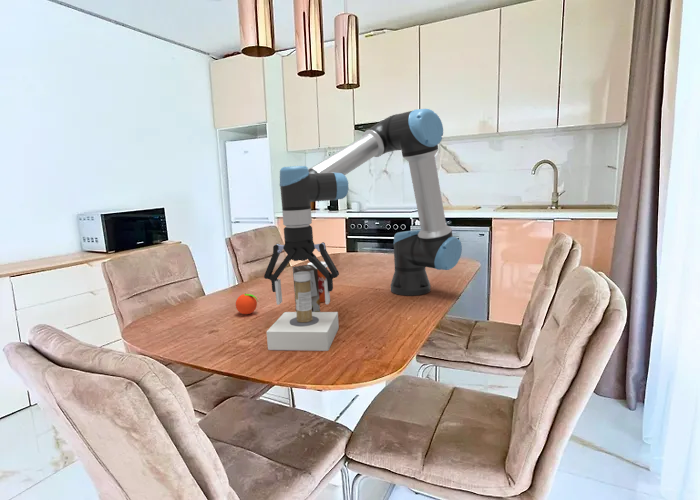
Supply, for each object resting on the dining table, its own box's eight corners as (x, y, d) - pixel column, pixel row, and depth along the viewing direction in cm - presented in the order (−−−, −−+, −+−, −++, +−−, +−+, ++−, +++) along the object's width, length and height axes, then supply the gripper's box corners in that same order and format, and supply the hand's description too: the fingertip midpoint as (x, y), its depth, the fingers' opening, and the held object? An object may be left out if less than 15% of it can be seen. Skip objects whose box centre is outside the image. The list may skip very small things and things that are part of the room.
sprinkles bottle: (297, 317, 114) (294, 271, 112) (313, 317, 114) (311, 270, 112) (295, 323, 110) (292, 275, 108) (312, 323, 110) (309, 274, 108)
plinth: (338, 328, 120) (337, 311, 119) (328, 350, 104) (327, 331, 103) (286, 328, 122) (284, 311, 121) (268, 349, 106) (266, 330, 106)
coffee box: (321, 318, 129) (318, 269, 126) (301, 321, 127) (298, 271, 124) (313, 310, 137) (310, 264, 135) (295, 313, 135) (291, 266, 133)
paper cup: (324, 304, 144) (322, 265, 141) (305, 303, 146) (302, 265, 144) (332, 298, 151) (330, 261, 149) (313, 297, 154) (311, 260, 151)
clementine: (264, 311, 139) (262, 291, 138) (254, 317, 133) (252, 296, 132) (243, 310, 142) (241, 290, 140) (232, 316, 135) (230, 296, 134)
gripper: (346, 222, 110) (350, 298, 113) (257, 225, 113) (264, 299, 117) (342, 225, 102) (346, 306, 106) (247, 229, 106) (254, 307, 110)
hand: (303, 303), depth 111 cm, fingers open, 13 cm apart
